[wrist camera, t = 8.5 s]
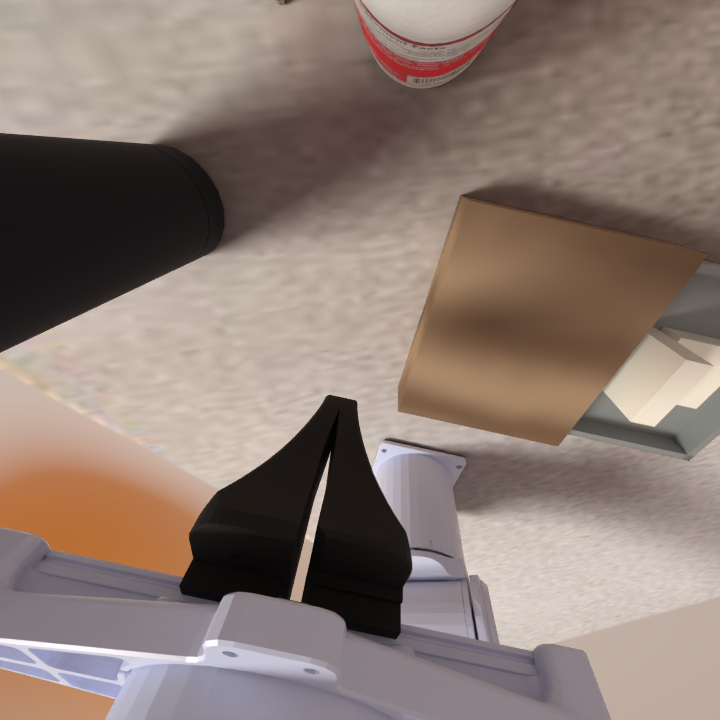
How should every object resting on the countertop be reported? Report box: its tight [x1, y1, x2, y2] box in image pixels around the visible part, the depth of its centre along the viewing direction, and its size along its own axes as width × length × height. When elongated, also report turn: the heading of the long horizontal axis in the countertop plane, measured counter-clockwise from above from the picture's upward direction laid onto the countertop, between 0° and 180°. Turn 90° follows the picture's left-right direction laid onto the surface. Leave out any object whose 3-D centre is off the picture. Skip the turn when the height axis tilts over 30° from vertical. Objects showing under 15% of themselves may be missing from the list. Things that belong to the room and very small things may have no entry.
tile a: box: [603, 327, 714, 427], centre depth 19 cm, size 4×4×2 cm
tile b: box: [660, 327, 720, 409], centre depth 21 cm, size 4×4×2 cm
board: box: [398, 195, 709, 446], centre depth 20 cm, size 14×12×3 cm
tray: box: [568, 261, 720, 461], centre depth 21 cm, size 13×10×2 cm
